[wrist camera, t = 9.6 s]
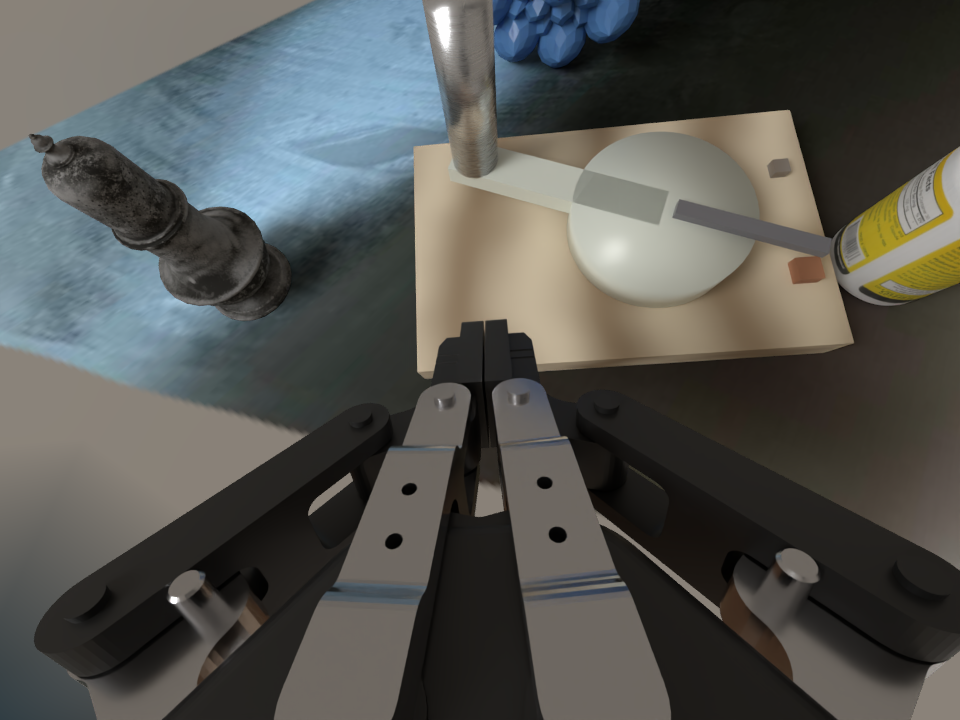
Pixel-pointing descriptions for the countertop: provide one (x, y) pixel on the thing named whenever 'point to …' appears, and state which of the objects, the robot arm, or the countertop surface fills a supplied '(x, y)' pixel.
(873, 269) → the supplement bottle
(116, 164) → the dark chess piece
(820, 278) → the dial base
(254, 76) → the countertop surface
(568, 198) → the dial
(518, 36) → the grapes
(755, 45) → the countertop surface
